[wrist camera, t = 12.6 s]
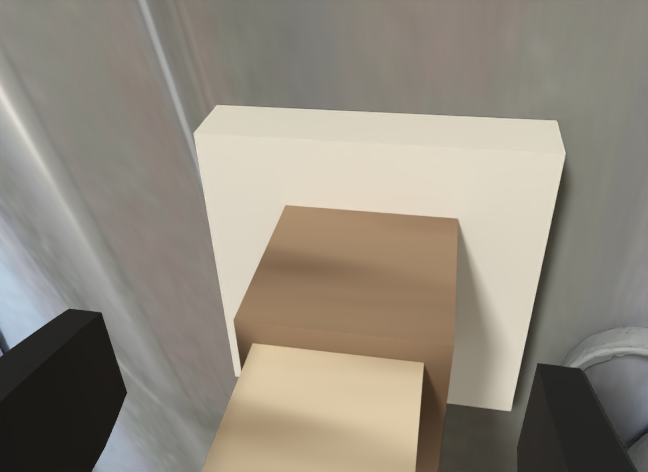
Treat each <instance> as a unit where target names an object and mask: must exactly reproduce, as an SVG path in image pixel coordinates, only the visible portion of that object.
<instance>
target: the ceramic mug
mask: <svg viewBox="0 0 648 472" xmlns="http://www.w3.org/2000/svg"><path fill="white" fill-rule="evenodd" d="M627 354H629V355H633V354H637V355H641V356H645V357H648V328H647V327H638V326H637V327H617V328H613V329H609V330H605V331H602V332H599V333H596V334H594V335H592V336H590V337H588V338H586V339H585V340H583V341H582V342H581V343H579V344H578V345H577V346H576V347H575V348H574V349H573V350H571V351H570V353H569V354H568V355H567V356H566V358H565V360H564V361H563V363H562V365H561V366H565V367H573V368H580V369H581V370H582V371H584V370H585V369H586V368H587V367H588V366H590V365H593V364H596V363H600V362H604V361H608V360H611V359H612V358H613V356H614V355H615V356H619V357H621V356H624V355H627ZM626 452H627V454H628V455H629V457H630V459H631V461H632V462H633V464H634V466H635V467H636V469H637V471H638V472H648V432H647V433H646V434H645V435H644V436H642V437H641V438H640V439H639V440H638V441H637V442H636V443H634V444H633V445H632V446H631V447H630V448H629V449H628V450H627V451H626Z"/></svg>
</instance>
